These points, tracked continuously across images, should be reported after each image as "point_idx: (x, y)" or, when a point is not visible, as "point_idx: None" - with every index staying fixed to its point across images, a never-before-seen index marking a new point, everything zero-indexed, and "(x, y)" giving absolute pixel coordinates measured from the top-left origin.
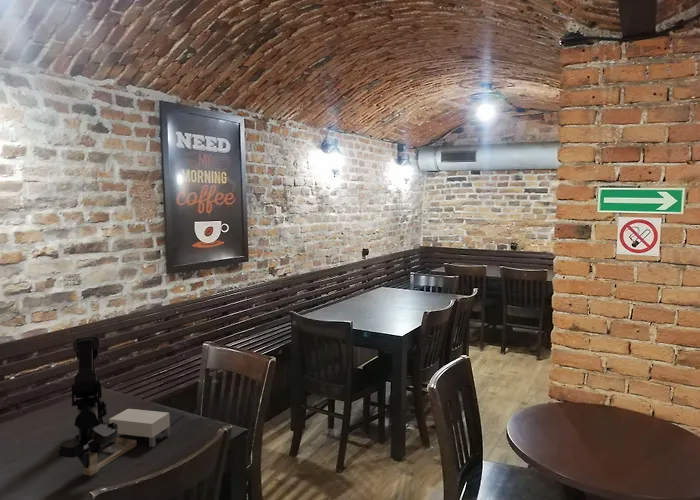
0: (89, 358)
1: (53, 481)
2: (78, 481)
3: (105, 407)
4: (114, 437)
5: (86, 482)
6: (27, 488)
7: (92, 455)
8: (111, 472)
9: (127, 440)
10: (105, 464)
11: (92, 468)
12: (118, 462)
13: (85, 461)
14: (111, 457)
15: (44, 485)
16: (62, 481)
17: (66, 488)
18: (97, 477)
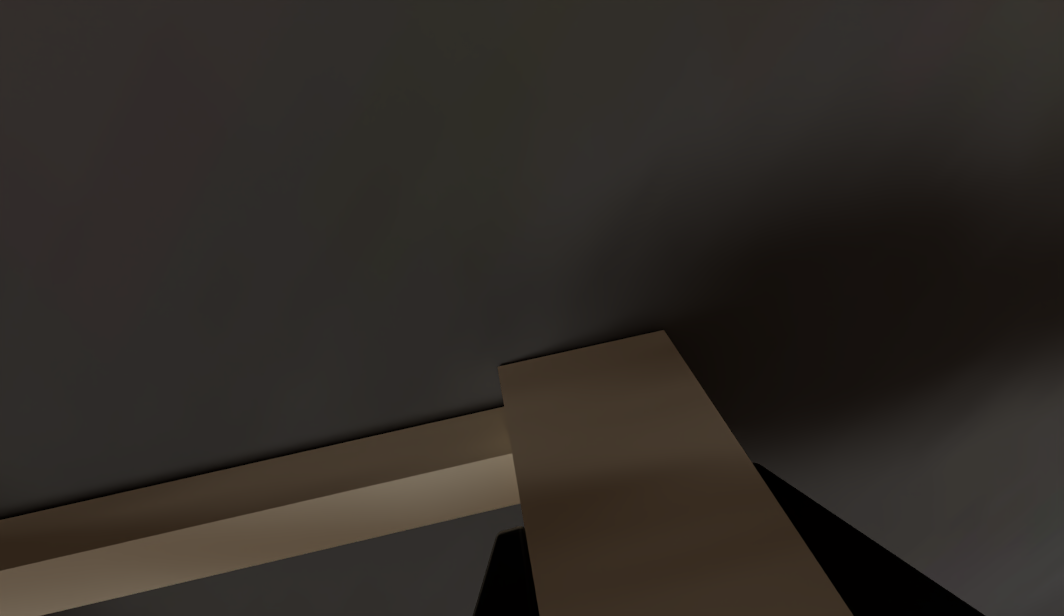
0: None
1: (898, 554)
2: (855, 332)
3: None
4: None
5: (864, 189)
6: (1043, 599)
7: None
8: (387, 91)
9: None
10: (294, 458)
11: (657, 414)
12: (55, 355)
13: (938, 608)
14: (112, 547)
15: (986, 546)
16: (886, 489)
17: (1058, 294)
18: (665, 175)
